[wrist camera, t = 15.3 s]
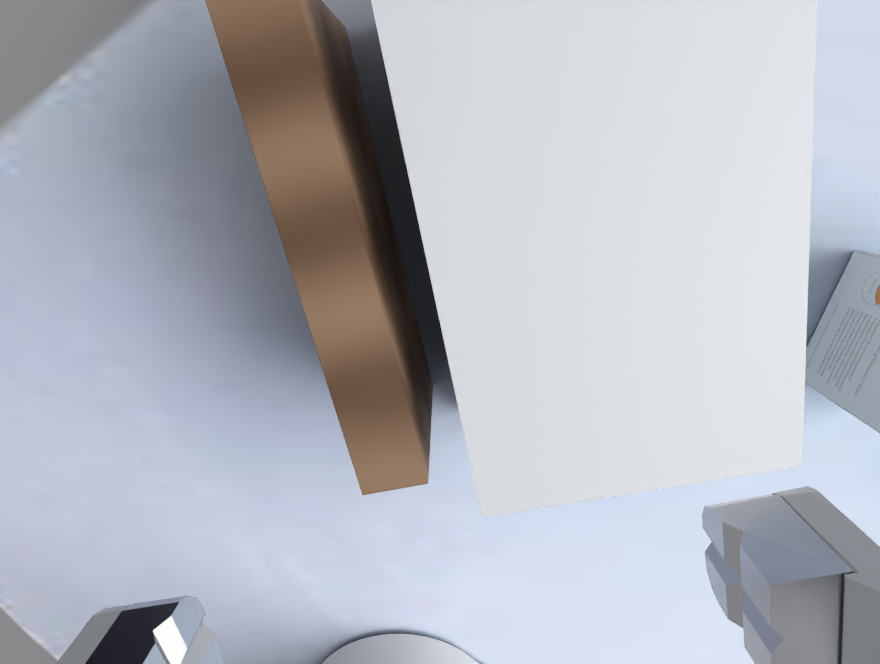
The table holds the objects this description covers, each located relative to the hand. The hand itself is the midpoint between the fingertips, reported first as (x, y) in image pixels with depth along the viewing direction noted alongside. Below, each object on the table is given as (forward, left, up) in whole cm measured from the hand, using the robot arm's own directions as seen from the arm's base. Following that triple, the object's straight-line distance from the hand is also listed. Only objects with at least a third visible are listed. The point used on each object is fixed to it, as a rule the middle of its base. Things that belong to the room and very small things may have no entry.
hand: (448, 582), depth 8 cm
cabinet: (+2, -3, -23) cm, 23 cm away
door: (+3, +4, -23) cm, 24 cm away
